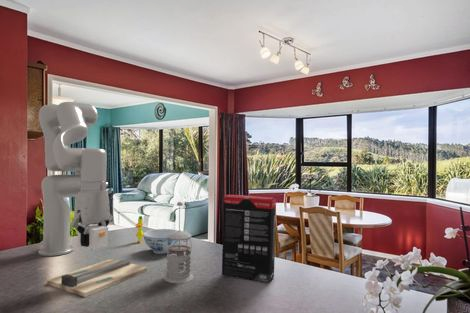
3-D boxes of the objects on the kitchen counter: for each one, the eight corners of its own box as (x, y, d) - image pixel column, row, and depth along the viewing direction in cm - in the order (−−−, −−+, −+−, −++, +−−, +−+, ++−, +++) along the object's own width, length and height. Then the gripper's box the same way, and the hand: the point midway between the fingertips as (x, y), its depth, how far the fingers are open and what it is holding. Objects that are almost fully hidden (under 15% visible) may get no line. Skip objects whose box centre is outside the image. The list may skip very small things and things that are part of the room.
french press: (157, 280, 102) (158, 202, 102) (176, 268, 113) (177, 198, 113) (183, 285, 98) (185, 204, 99) (201, 272, 109) (202, 200, 109)
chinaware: (187, 250, 135) (187, 232, 135) (161, 259, 123) (161, 239, 123) (162, 244, 143) (162, 227, 143) (135, 252, 131) (135, 234, 131)
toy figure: (140, 244, 142) (140, 218, 143) (132, 244, 143) (132, 217, 143) (145, 240, 149) (146, 215, 149) (138, 240, 150) (138, 215, 150)
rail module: (77, 246, 101) (77, 227, 101) (91, 242, 105) (91, 224, 105) (95, 250, 97) (95, 230, 97) (109, 246, 101) (109, 227, 101)
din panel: (47, 283, 98) (47, 272, 98) (111, 261, 119) (111, 252, 119) (85, 297, 89) (85, 284, 89) (146, 270, 110) (146, 260, 110)
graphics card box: (275, 277, 106) (277, 196, 106) (271, 285, 100) (272, 198, 100) (227, 270, 112) (229, 193, 112) (220, 277, 105) (222, 195, 105)
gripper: (107, 184, 111) (107, 236, 110) (60, 188, 96) (59, 248, 96) (122, 185, 107) (122, 239, 107) (76, 189, 92) (75, 252, 92)
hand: (92, 243), depth 101 cm, fingers closed on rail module, 5 cm apart
